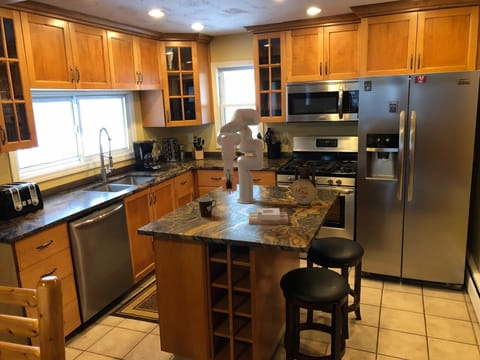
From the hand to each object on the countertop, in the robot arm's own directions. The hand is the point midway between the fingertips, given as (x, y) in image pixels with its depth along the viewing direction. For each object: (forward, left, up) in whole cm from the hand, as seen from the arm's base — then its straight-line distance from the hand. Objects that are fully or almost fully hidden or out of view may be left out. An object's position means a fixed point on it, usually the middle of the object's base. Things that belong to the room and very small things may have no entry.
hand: (229, 186), depth 223 cm
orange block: (0, 0, -4) cm, 4 cm away
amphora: (-29, +46, -20) cm, 58 cm away
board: (+1, +22, -20) cm, 29 cm away
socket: (+1, +22, -18) cm, 28 cm away
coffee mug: (-9, -14, -20) cm, 26 cm away
